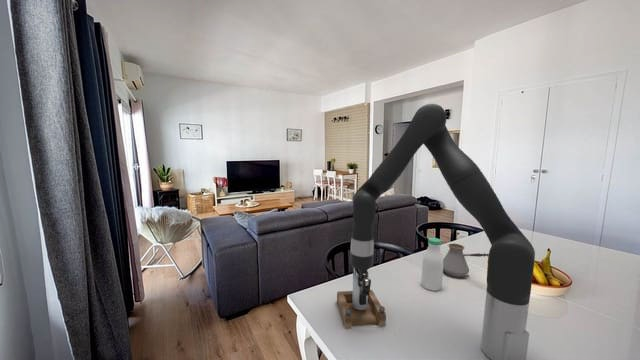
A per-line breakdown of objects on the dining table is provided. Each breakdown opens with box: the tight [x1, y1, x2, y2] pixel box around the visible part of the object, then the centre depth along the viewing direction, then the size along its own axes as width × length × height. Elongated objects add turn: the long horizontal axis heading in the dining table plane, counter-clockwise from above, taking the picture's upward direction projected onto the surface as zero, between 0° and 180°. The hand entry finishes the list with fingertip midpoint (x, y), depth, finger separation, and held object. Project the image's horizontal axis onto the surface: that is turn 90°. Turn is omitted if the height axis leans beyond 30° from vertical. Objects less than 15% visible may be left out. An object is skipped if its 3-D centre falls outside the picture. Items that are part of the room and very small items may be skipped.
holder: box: [336, 289, 387, 329], centre depth 87 cm, size 14×13×6 cm
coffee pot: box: [443, 243, 489, 278], centre depth 111 cm, size 21×12×15 cm, turn 22°
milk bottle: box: [420, 237, 444, 292], centre depth 104 cm, size 8×8×20 cm
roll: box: [352, 275, 370, 310], centre depth 86 cm, size 5×5×10 cm
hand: (360, 298), depth 87 cm, fingers closed on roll, 5 cm apart
